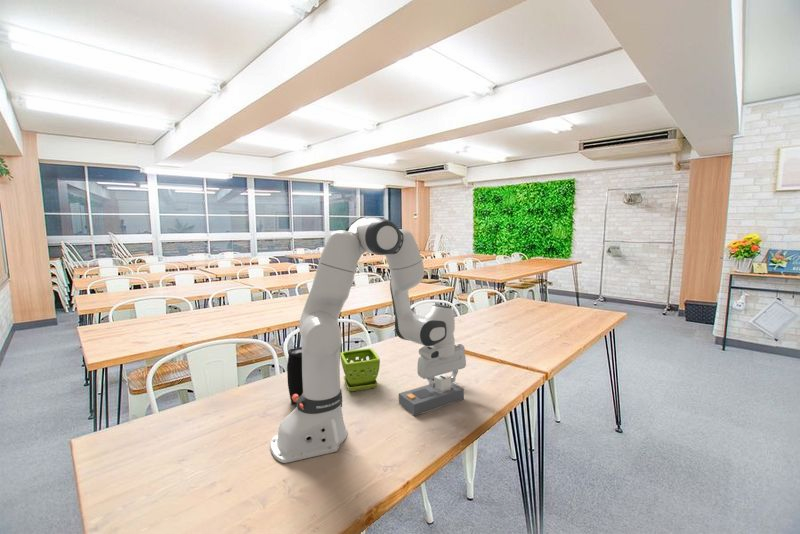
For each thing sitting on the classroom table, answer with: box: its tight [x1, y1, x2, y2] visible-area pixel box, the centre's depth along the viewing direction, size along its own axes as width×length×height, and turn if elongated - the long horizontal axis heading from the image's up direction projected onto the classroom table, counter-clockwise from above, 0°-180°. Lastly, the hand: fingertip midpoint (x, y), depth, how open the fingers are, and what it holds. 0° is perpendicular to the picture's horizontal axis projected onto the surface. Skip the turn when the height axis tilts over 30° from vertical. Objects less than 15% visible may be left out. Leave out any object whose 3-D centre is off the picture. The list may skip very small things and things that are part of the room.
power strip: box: [398, 382, 465, 417], centre depth 132 cm, size 22×10×5 cm, turn 121°
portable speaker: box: [286, 346, 303, 406], centre depth 133 cm, size 9×9×20 cm
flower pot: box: [340, 347, 381, 392], centre depth 146 cm, size 14×14×13 cm
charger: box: [433, 373, 451, 393], centre depth 134 cm, size 4×4×7 cm
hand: (442, 384), depth 134 cm, fingers open, 8 cm apart
